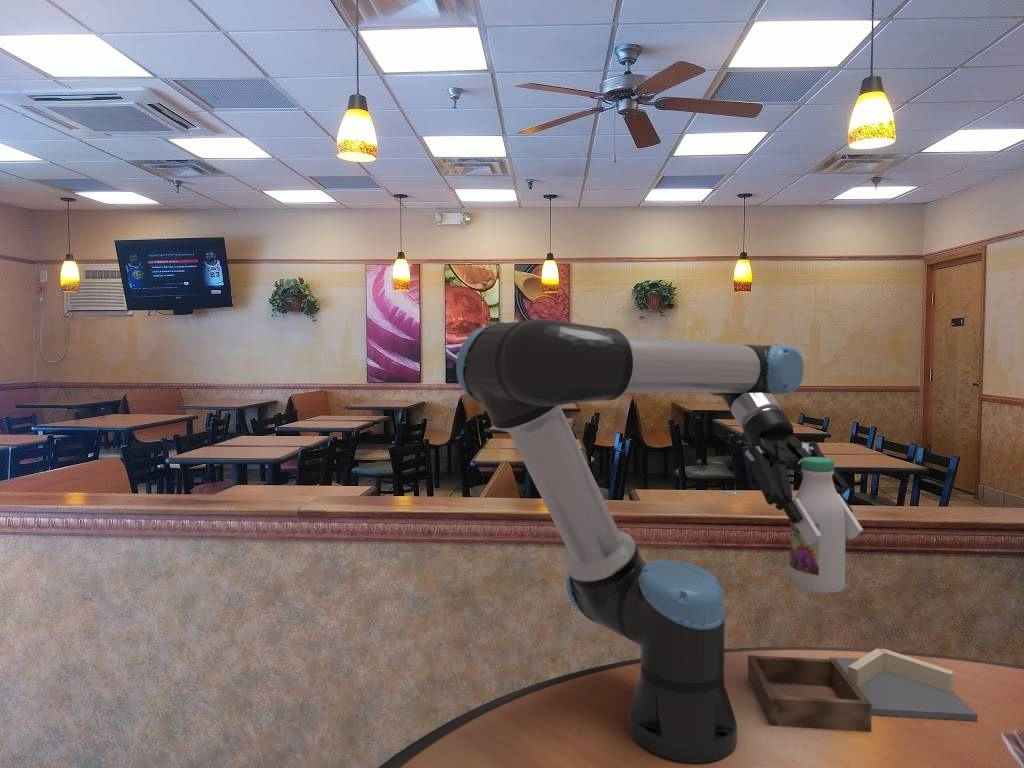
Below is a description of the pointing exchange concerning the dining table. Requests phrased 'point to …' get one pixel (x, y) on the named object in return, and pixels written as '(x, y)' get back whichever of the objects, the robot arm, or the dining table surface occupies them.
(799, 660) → the walnut collar
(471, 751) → the dining table surface
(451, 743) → the dining table surface
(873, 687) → the v cradle
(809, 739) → the dining table surface
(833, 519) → the milk bottle
